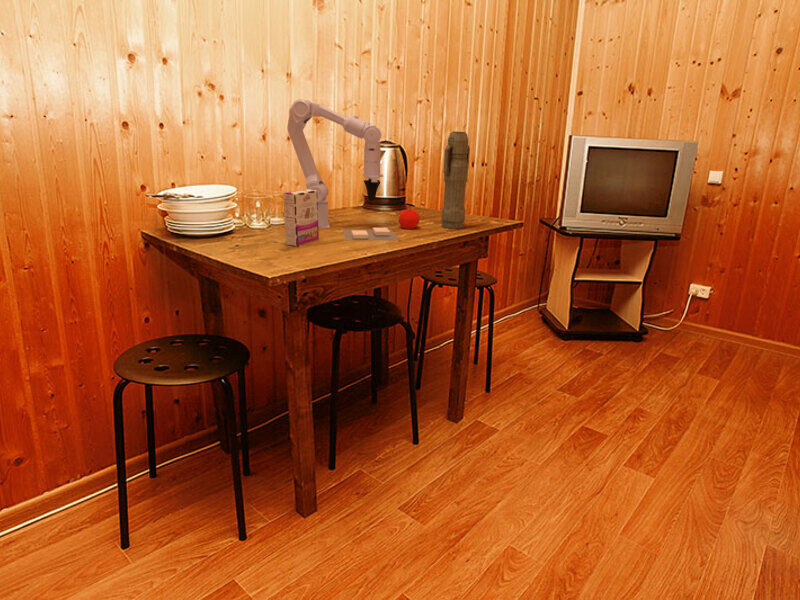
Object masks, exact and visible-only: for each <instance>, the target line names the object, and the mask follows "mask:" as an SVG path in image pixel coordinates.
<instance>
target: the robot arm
mask: <svg viewBox="0 0 800 600" xmlns="http://www.w3.org/2000/svg"><path fill="white" fill-rule="evenodd" d="M288 111H289V113H288V114H289V116H288V121H287V127H286V128H287V132H288V133H287V134H288V135H289V138H290V141H291V143H292V146H293V148H294V151H295V154H296V157H297V159H298V162H299V165H300V168H301V170H302V172H303V175H304V178H305V186H306V189H309V190H317V200H318V228H330V223H329V200H328V199H327V197H328V195H329V192H330V191H329V187H328V186H327V185H326V183H324V181H323V178H322V177H321V175H320V174H319V171H318V169H317V166H316V163H315V161H314V158H313V155H312V151H311V149H310V147H309V144H308V141H307V138H306V136H305V133H304V128H305V127H306V124H307V123H308V122H309V121H310V120H311V119H312V118H313V117H317V118H324V119H325V120H328V121H331V122H333V123H336V124H338V125H340V126H341V127H343V131H344V132H346V133H348V134H351V135H352V136H355V138H356V137H357V138H358V139H364V148H363V149H364V150H363V152H364V153H363V154H364V155H363V165H364V166H363V175H362V176H363V177H364V178H367V180H366V179H365V180H364V179H363V183H364V185H365V188H366V195H367V200H368V201H369V202H370V201H371V202H374V201H375V200H376V197H377V191H378V189H379V186H380V184H381V181H380V180H379V178H383V177H384V174H382V173H381V152H382V151H381V141H380V140H381V139H382V132H381V129H380V128H379V127H377V126H376V125H371V124H372V123H371V122H370V121H368V122H367V121H364V120H362V119H360V118H359V116H358V115H356V114H354V116H353V115H349V116H344V115H342V114H341V113H339V112H336V111H335V110H332V109H331V108H329V107H327V106H325V105H323V104H320V103H316V102H312V101H311V100H307V99H304V98H303V99H301V98H300V99H296V100H294V101H293V103H292V104H291V107H290V108H289V110H288Z"/></svg>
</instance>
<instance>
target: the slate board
mask: <svg viewBox="0 0 800 600" xmlns="http://www.w3.org/2000/svg"><path fill="white" fill-rule="evenodd" d="M351 230H352V229H341V231H342V234H343V236H344V237H343V238H344V240H345V241H401V239H400V237H399V236H397V234H396V233H395V232H394V230H393V229H388V230H389V231H390V235H389V236H375V234H374V232H373V229H365V230H366V231H367V233H368V239H353V237H352V235H351Z"/></svg>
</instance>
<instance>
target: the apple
mask: <svg viewBox="0 0 800 600" xmlns="http://www.w3.org/2000/svg"><path fill="white" fill-rule="evenodd" d="M420 220H421V218H420V215H419V213H418V212H417V210H413V209H405V210H403V211H401V212H400V214H399V216H398V223H399V225H400V226H401V228H402V229H405V230H413V229H415V228H417V226H418V225H419V223H420Z"/></svg>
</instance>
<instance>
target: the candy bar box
mask: <svg viewBox="0 0 800 600" xmlns="http://www.w3.org/2000/svg"><path fill="white" fill-rule="evenodd" d="M283 211H284V230H285V245H286V246H291V247H296V248H297V247H300V245H303V244H307V243H310V242H315V241H318V240H319V237H320V236H319V235H320V234H319V227H318V200H317V190H309V189H307V188H306V189H300V190H293V191H288V192H283Z"/></svg>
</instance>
